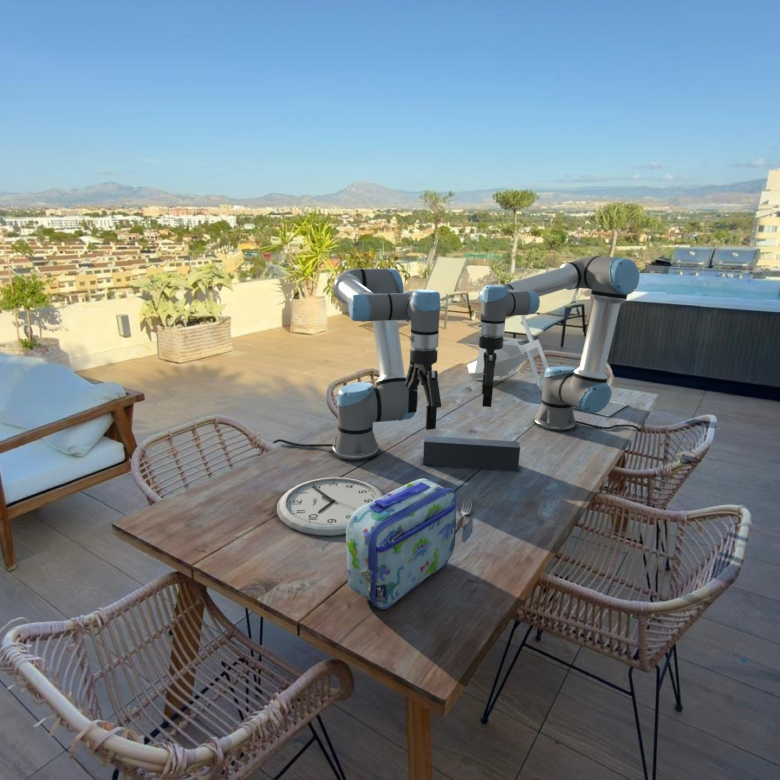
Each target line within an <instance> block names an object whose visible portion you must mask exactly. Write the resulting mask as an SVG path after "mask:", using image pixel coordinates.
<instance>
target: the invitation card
mask: <svg viewBox="0 0 780 780" xmlns="http://www.w3.org/2000/svg"><path fill="white" fill-rule="evenodd" d="M627 406H628V404H627V403H623V402H618V401H614V400H610V401H609V402H608V404H607V405H606V406H605V408H603V409H602V410H601V411H599V412H597V413H594V415H595V414H596V415H600V416H603V417H608V418H609V417H611V416H612V415H614V414H616V413H617V412H619V411H620V410H622V409H624V408H625V407H627ZM573 409H575V410H579V409H578V408H575V407H573Z"/></svg>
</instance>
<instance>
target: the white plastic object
mask: <svg viewBox="0 0 780 780" xmlns="http://www.w3.org/2000/svg"><path fill="white" fill-rule="evenodd" d="M520 318H521V321H522V324H523V328H524V330H525V333H526V336H527V337H526V338H527V339H528V342H527V343H525V344H519V342H518V341H517V339H516V338H512V339H508V340H503V348H502V349H499V350H494V353H496V355H497V357H496V361H495V368H494V377H499V378H503V377H505V376H509V373H510V372H511V371H512V370H514V369H515V368H517V367H519V366H520V365H521V364H523V363H524V362H525V361H527V359H528V361H529V365H530V368H531V371H532V374H533V378H534V381H535V384H536V386H537V388H538V389H539V391H541V392H542V390H543V383H542V381H541V379H540V375H539V372H538V369H537V366H536V364H535V363H536V362H535V360H534V357H533V356H535V355H538V354H539V357H540V359H541V363H542V364H543V368H544V371H545V370H546V369H547V368H549V363H548V361H547V358H546V355H545V352H544V349H543V346H542V344H541V342H540V339H535V340H534V339H533V335H532V333H531V329H530V326H529V323H528V320H527V318H526V316H525V315H520ZM484 352H486V349H482V348H480V347H479V349H478V356H477V358H476V360H475V361H472V362H470V363H468V364H467V369H468V374H469V376H470V377H471V379H473V380H476V379H483V375H485V374H484V373H483V372H484V370H483V369H484V357H483V356H484Z"/></svg>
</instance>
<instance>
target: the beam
mask: <svg viewBox="0 0 780 780" xmlns="http://www.w3.org/2000/svg"><path fill="white" fill-rule="evenodd" d="M520 455H521V445H520V442H519V441H517V440H516V441H515V440H499V439H486V438H485V439H484V438H483V439H482V438H467V437H466V438H465V437H451V436H450V437H449V436H436V435H435V436H432V435H424V439H423V455H422V456H423V457H422V458H423V460H422V465H425V466H438V467H452V468H454V467H455V468H469V469H484V470H499V471H515V472H518V471H519V463H520Z"/></svg>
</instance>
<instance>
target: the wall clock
mask: <svg viewBox="0 0 780 780" xmlns="http://www.w3.org/2000/svg"><path fill="white" fill-rule="evenodd" d="M384 495H385V494H384V493H383V492H382V491H381V490H380V489H379V488H377V487H376V486H375V485H372V484H371V483H369V482H366V481H363V480H359V479H355V478H349V477H338V476H337V477H335V476H333V477H332V476H331V477H322V478H317V479H312V480H307V481H305V482H302V483H299V484H297V485H295V486H294V487H292V488H290V489H288V490H287V491H286V492H285V493H284V494H283V495H281V497H280V498H279V500H278V502H277V503H276V515H277V516H278V518H279V520H280V521H281V522H282V523H283V524H285V525H286V526H287V527H288V528H290V529H293V530H295V531H297V532H300V533H304V534H308V535H312V536H313V535H314V536H327V537H328V536H329V537H331V536H342V535H346V528H347V524H348V521H349V519H350V517H351V515H352V514H353V513H354V512H355V511H356V510H357V509H358V508H360V507H362V506H364V505H366V504H368V503H370V502H372V501H374V500H376V499H378V498H380V497H382V496H384Z"/></svg>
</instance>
